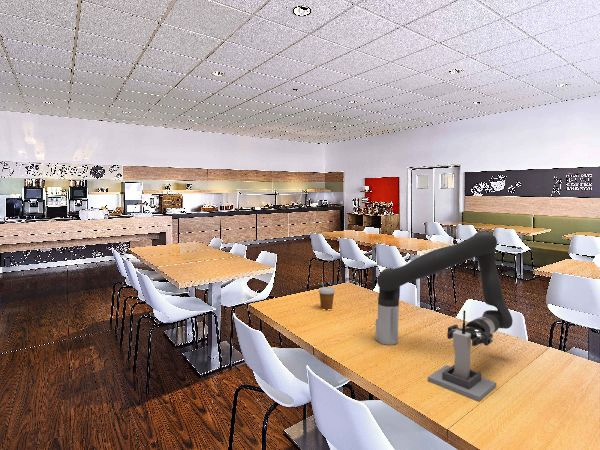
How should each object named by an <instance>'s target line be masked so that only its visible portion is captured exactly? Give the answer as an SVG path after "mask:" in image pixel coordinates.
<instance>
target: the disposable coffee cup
mask: <svg viewBox="0 0 600 450" xmlns="http://www.w3.org/2000/svg"><path fill="white" fill-rule="evenodd" d="M335 292H336V291H335V288H333V287H331V286H326V287H325V286H324V287H319V290H318V293H319V301H320V308H322V309H325V310H328V309H332V310H333V306H334V305H333V304H334V298H335V297H334V296H335ZM322 309H321V310H322ZM325 310H324V311H325Z"/></svg>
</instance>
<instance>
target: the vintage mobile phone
mask: <svg viewBox="0 0 600 450" xmlns="http://www.w3.org/2000/svg"><path fill="white" fill-rule="evenodd" d="M462 315H463V316H462V327H463V329H462V331H459V330H456V331H455V332H453V338H452V342H453V347H454V364H455V366H454V372H453V373H452V375H455V376H458V377H460V378H463V379H466V380H468V379H469V376H470V370H471V347H472V340H471V334H470V333H467V332H465V326H466V310H463V314H462Z"/></svg>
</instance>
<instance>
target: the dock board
mask: <svg viewBox="0 0 600 450" xmlns="http://www.w3.org/2000/svg"><path fill="white" fill-rule="evenodd" d="M454 366H455V363H453V365H447V364H446V365H444V366H443V367H441V368H439V369H438V370H436V371H435V372H433V373H432V374H430V375H428V376H427V381H428V382H430V383H432V384H435V385H437V386H440V387H442V388H444V389H447V390H450V391H451V392H455V393H458V394H460V395H462V396H465V397H466V398H469V399H472V400H475V401H478V402H481V400H483V399H484V398H485V397H487V395H488V394H490V393H491V392H492V391H493V390H495V388H497V382H495V381H492V380H489V379H487V378H484V377H482V373H481V372H478V371H475V370H473V369H470V376H469V379H468V380H466V379H463V378H460V377H458V376H455V375H452V373H453V372H454Z"/></svg>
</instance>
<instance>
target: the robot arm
mask: <svg viewBox="0 0 600 450" xmlns="http://www.w3.org/2000/svg"><path fill="white" fill-rule="evenodd" d="M497 246H498V239H497V236H495V235H494V234H493V233H492V232H489V231H485V230H481V231H478V232H476V233H474V234H473V235H472V236H470V237H469V238H466V239H465V240H463V241H460V242H457V243H455V244H452V245H448V246H443V247H440V248H437V249H434V250H431V251H429V252H427V253H424V254H421V255H420V256H417V257H415V259H413V260H411V261H410V262H408V263H406V264H404V265H401V266H399V267H395V268H393V267H387V268H384V269H383V270H382V271H381V272H380V273H379V274H378V275H377V276H378V277H377V280H376V284H377V286H378V288H379V289H378V290H379V292H378V297H377V318H376V319H375V336H374V337H375V339H374V340H376V341H377V342H378V343H379V344H382V345H388V346H392V345H396V344H398V343H399V320H400V319H399V316H400V315H399V314H400V313H399V312H400V310H399V309H400V296H401V295H400V293H401V287H402V286H404V285H406V284H407V283H411V282H412V281H416V280H419V279H423V278H425V277H429V276H432V275H435V274H437V273H440V272H443V271H446V270H447V269H451V268H452V267H454V266H456V265H458V264H460V263H461V262H465V261H467V260H470V259H473V258H477V262H478V266H479V267H478V268H479V272H480V281H481V282H480V283H481V287H482V296H483V299H484V303H485V304H486V305H487V306H492V307H494V308H495V309H494V310H493V309H489V310H485V311H483V313H482V316H480V317H476V318H474V319H472V320H471V321H469V322H467V323H466V324H465V332H467V333H470V334H471V347H476V346H479V345H482V344H483V345H484V346H487V347H488V346H489V345H490V344H491V343H492V342H493V341H494V339H493V338H494V333H496V332H497V331H498V330H499V329H510V328H511V327H512V325H513V316H512V314H511V312H510V310H509V309H508V306H507V303H506V301H505V298H504V294H503V288H502V287H503V286H502V283H501V279H500V276H499V271H498V268H497V264H496V258H495V257H496V255H495V253H496V252H495V250H496V248H497ZM462 329H463V326H462V327H459V325H458V324H454V325H451V326H449V327H447V333H446V334H447V335H446V337H447V339H449V340H452V339H453V332H455V331H456V330H459V331H462Z"/></svg>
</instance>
